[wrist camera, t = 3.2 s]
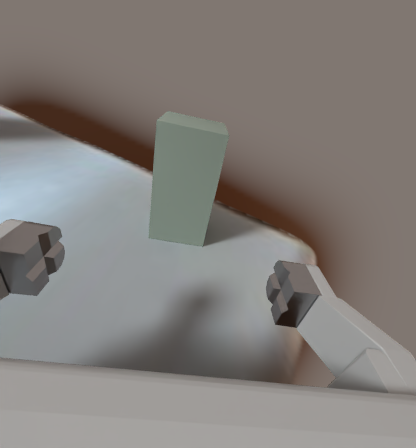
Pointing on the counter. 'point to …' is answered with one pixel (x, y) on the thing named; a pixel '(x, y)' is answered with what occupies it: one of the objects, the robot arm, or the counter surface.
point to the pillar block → (185, 177)
